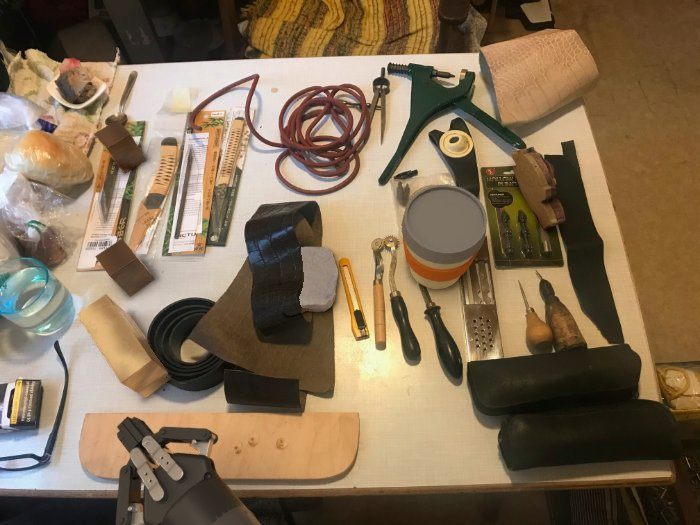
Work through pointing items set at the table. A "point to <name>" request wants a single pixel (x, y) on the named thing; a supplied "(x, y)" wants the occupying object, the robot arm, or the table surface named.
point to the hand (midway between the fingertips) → (125, 423)
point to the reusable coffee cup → (442, 234)
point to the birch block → (123, 346)
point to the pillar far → (120, 146)
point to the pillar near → (125, 267)
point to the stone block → (318, 279)
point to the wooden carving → (538, 186)
